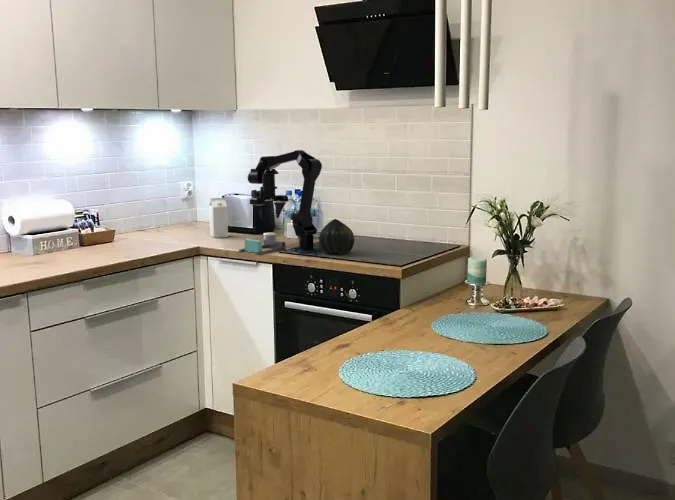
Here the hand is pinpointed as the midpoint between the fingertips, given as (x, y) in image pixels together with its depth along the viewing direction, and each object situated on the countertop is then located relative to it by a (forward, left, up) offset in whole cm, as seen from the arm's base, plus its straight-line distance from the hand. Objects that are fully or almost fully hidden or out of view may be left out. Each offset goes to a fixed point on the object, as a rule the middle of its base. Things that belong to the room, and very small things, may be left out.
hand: (269, 218), depth 334 cm
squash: (-36, -9, -12) cm, 39 cm away
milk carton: (+38, +6, -12) cm, 40 cm away
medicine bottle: (+10, -21, -12) cm, 27 cm away
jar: (0, +1, -12) cm, 12 cm away
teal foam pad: (-12, +16, -12) cm, 23 cm away
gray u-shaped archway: (-11, +11, -12) cm, 19 cm away
